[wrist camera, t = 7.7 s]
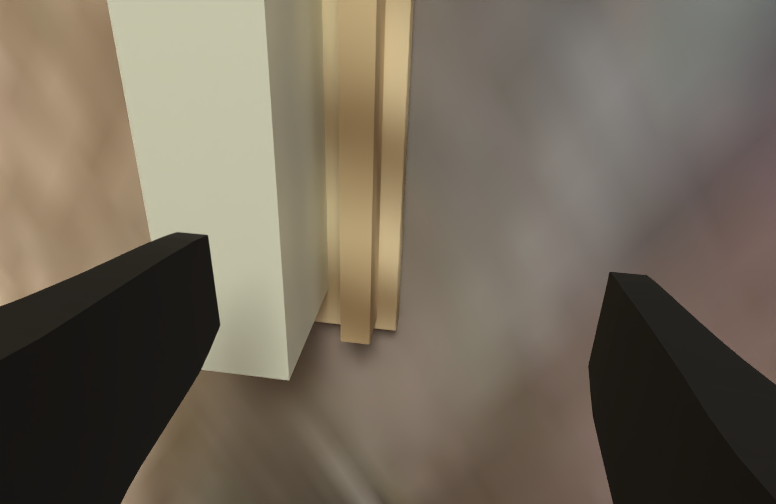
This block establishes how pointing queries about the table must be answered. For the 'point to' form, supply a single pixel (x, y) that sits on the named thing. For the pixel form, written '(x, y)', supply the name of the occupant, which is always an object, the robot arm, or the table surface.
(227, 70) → the cream rectangular block
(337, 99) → the tan flat piece
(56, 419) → the robot arm
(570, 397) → the table surface
